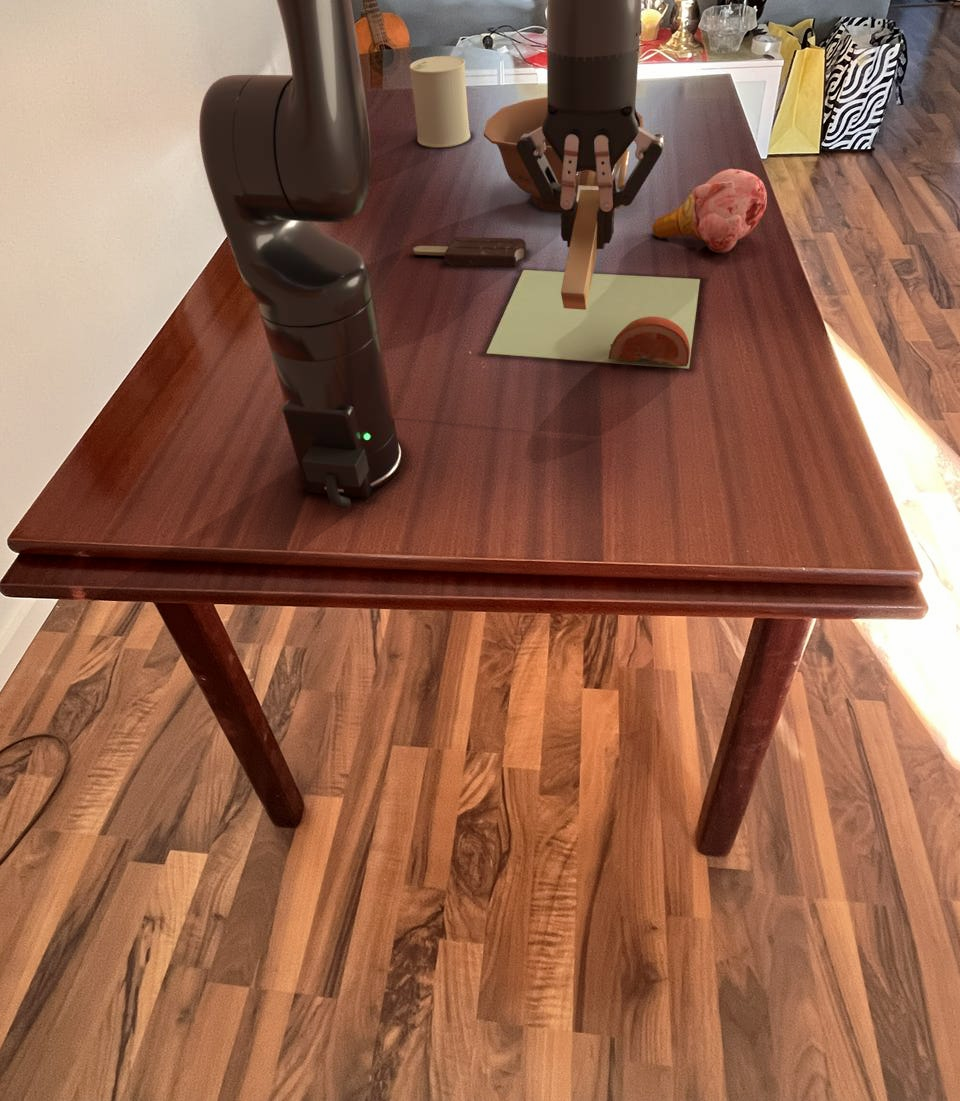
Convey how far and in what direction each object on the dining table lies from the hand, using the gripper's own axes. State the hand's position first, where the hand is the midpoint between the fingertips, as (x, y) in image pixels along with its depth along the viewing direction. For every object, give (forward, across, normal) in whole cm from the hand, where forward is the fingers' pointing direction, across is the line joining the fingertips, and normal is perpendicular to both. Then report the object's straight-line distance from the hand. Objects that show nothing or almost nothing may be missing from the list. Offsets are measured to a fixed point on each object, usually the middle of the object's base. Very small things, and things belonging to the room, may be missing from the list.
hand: (587, 244), depth 78 cm
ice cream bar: (+13, -20, +22) cm, 33 cm away
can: (+13, -37, +66) cm, 77 cm away
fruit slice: (+9, +7, +4) cm, 12 cm away
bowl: (+13, -11, +43) cm, 46 cm away
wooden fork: (-1, 0, +1) cm, 1 cm away
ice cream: (+13, +10, +29) cm, 34 cm away
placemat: (+13, 0, +10) cm, 16 cm away
